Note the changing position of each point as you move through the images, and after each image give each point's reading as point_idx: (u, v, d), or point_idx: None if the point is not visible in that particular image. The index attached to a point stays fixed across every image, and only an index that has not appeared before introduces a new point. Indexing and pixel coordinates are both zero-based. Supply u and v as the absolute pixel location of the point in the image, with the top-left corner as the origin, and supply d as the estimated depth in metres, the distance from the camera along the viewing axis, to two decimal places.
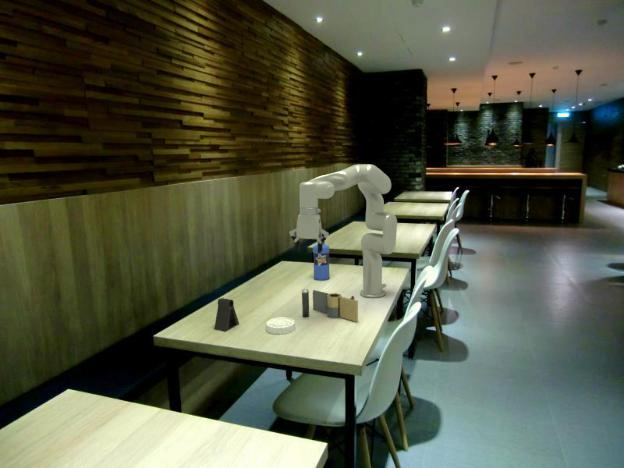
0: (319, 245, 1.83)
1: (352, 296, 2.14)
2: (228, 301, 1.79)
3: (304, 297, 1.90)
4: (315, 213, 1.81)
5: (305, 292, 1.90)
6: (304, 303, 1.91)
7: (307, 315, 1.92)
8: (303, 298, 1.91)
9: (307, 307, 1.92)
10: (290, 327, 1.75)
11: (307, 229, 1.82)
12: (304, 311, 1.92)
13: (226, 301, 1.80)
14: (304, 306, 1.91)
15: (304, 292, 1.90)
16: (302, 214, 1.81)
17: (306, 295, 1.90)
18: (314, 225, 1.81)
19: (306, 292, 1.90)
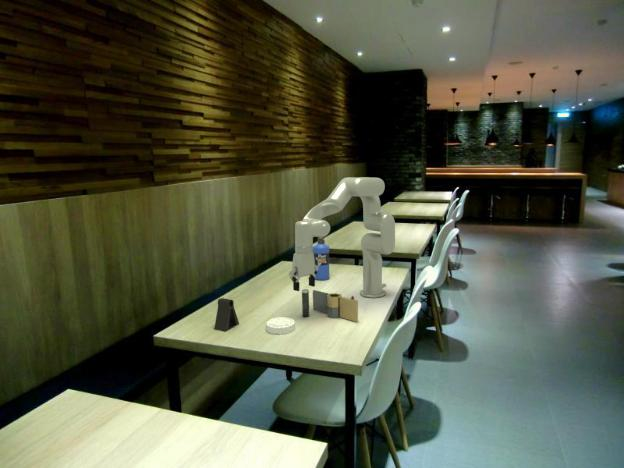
0: None
1: (352, 296, 2.14)
2: (228, 301, 1.79)
3: (304, 297, 1.90)
4: None
5: (305, 292, 1.90)
6: (304, 303, 1.91)
7: (307, 315, 1.92)
8: (303, 298, 1.91)
9: (307, 307, 1.92)
10: (290, 327, 1.75)
11: (308, 266, 1.88)
12: (304, 311, 1.92)
13: (226, 301, 1.80)
14: (304, 306, 1.91)
15: (304, 292, 1.90)
16: (307, 253, 1.85)
17: (306, 295, 1.90)
18: (313, 261, 1.90)
19: (306, 292, 1.90)
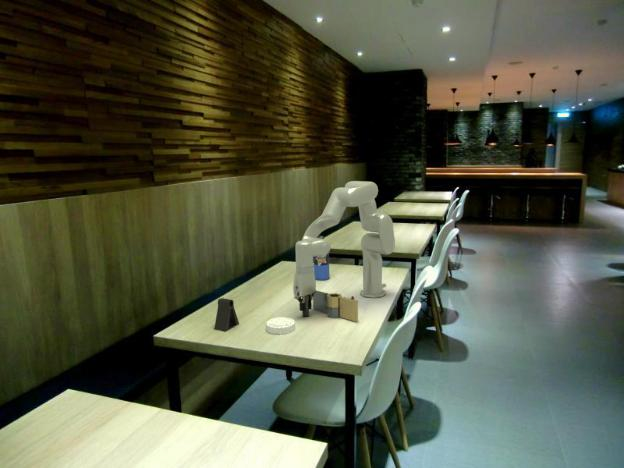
0: (310, 302, 1.93)
1: (352, 296, 2.13)
2: (228, 301, 1.79)
3: None
4: None
5: None
6: None
7: (307, 315, 1.92)
8: None
9: (307, 307, 1.92)
10: (290, 327, 1.75)
11: (309, 286, 1.90)
12: None
13: (226, 301, 1.80)
14: None
15: None
16: (308, 273, 1.87)
17: (306, 295, 1.90)
18: (313, 280, 1.92)
19: None
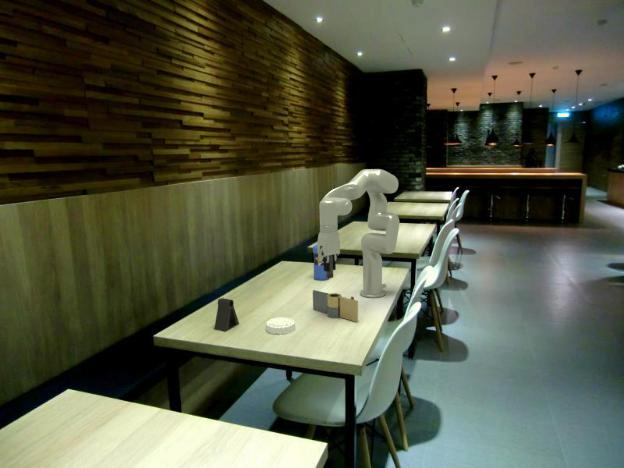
0: None
1: (352, 297, 2.13)
2: (228, 301, 1.79)
3: None
4: None
5: None
6: None
7: (331, 275, 1.90)
8: None
9: (332, 268, 1.89)
10: (290, 327, 1.75)
11: (333, 245, 1.87)
12: None
13: (226, 301, 1.80)
14: None
15: None
16: (332, 232, 1.84)
17: (330, 255, 1.88)
18: (338, 240, 1.89)
19: None
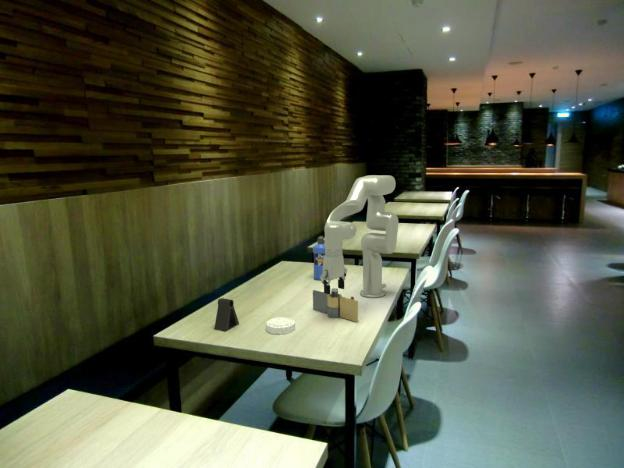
0: None
1: (352, 297, 2.13)
2: (228, 301, 1.79)
3: (333, 296, 1.91)
4: None
5: (335, 291, 1.91)
6: None
7: None
8: None
9: None
10: (290, 327, 1.75)
11: (338, 269, 1.89)
12: None
13: (226, 301, 1.80)
14: None
15: (334, 291, 1.91)
16: (337, 256, 1.86)
17: (336, 294, 1.91)
18: (342, 264, 1.91)
19: (336, 291, 1.91)
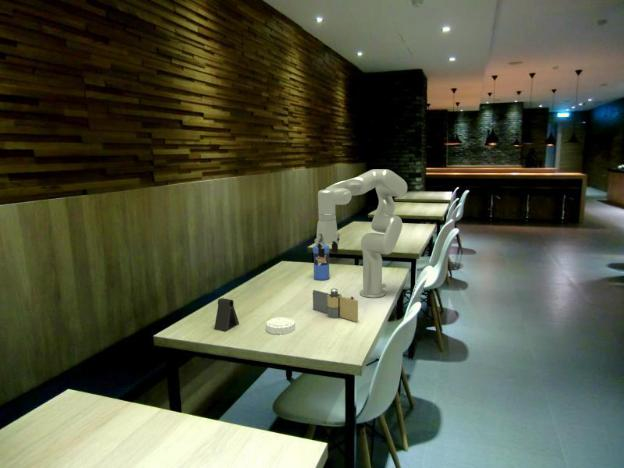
0: None
1: (351, 297, 2.13)
2: (228, 301, 1.79)
3: (333, 296, 1.91)
4: None
5: (334, 291, 1.90)
6: None
7: None
8: None
9: None
10: (290, 327, 1.76)
11: (332, 233, 1.95)
12: None
13: (226, 301, 1.80)
14: None
15: (333, 291, 1.90)
16: (331, 220, 1.92)
17: (335, 294, 1.91)
18: (336, 229, 1.97)
19: (335, 291, 1.91)
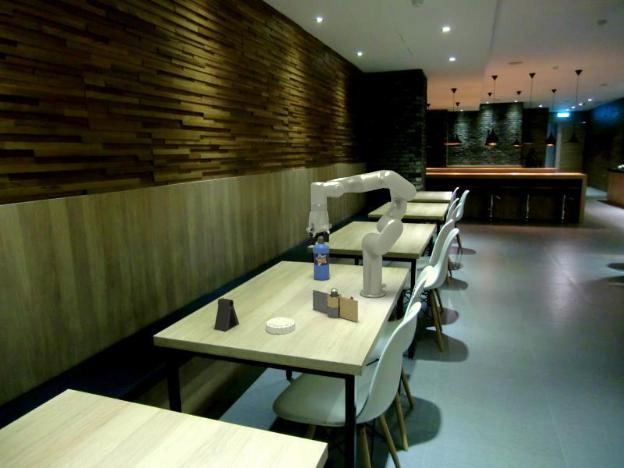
0: None
1: (351, 297, 2.13)
2: (228, 301, 1.79)
3: (333, 296, 1.91)
4: None
5: (334, 291, 1.90)
6: None
7: None
8: None
9: None
10: (290, 327, 1.76)
11: (323, 223, 2.07)
12: None
13: (226, 301, 1.80)
14: None
15: (333, 291, 1.90)
16: (322, 210, 2.04)
17: (335, 294, 1.91)
18: (327, 219, 2.09)
19: (335, 291, 1.90)
